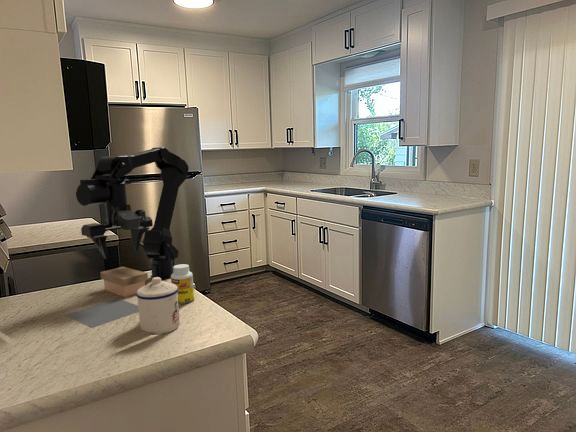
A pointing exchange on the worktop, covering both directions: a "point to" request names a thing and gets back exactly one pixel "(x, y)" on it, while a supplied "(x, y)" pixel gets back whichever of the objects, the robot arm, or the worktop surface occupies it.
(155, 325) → the teacup with lid
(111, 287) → the peach open box
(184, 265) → the supplement bottle
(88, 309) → the rubber mat
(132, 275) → the tan flat block
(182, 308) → the worktop surface
